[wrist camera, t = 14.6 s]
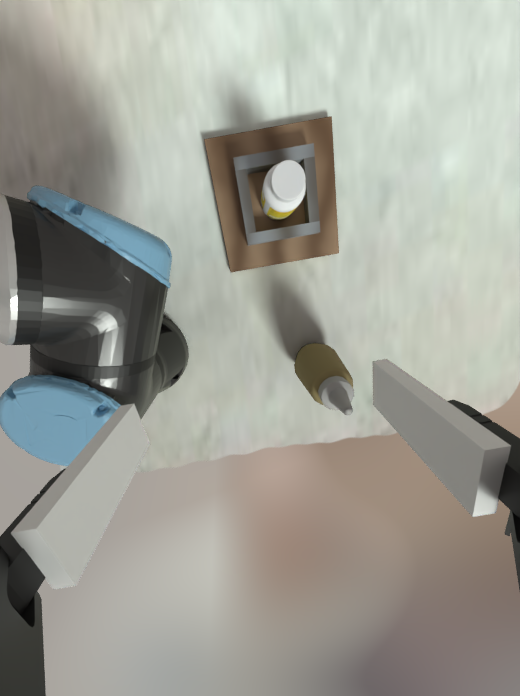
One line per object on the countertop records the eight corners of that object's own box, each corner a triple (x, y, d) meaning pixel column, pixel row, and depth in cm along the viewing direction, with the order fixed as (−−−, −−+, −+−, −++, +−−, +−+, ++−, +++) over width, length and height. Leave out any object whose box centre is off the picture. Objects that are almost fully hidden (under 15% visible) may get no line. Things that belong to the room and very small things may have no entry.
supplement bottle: (302, 205, 38) (320, 187, 29) (273, 228, 39) (282, 217, 29) (282, 171, 36) (295, 140, 27) (252, 195, 37) (255, 174, 28)
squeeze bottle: (285, 346, 46) (307, 396, 29) (325, 331, 46) (372, 372, 29) (298, 382, 49) (326, 446, 32) (337, 367, 48) (386, 425, 32)
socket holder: (231, 272, 41) (229, 273, 38) (205, 142, 35) (201, 130, 32) (336, 253, 41) (344, 252, 38) (329, 120, 35) (337, 105, 32)
